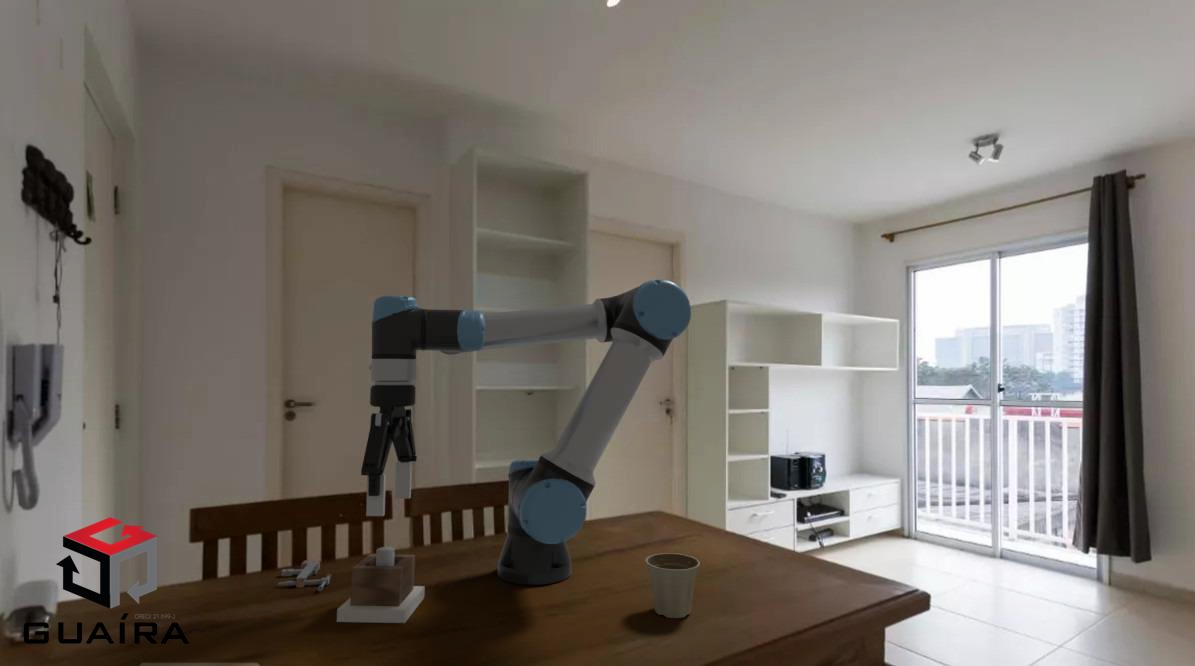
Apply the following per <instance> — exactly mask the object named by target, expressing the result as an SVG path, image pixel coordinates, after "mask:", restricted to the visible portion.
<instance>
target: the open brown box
mask: <svg viewBox="0 0 1195 666" xmlns="http://www.w3.org/2000/svg"><path fill="white" fill-rule="evenodd" d="M415 562H416V554H408V553H406V554H401V553H398V554H397V553H396V554H395V557H394V566H376V553H370V554H368V555H367V556H365V558H363V559H362V560H361V561H359V562H357V564H356V565H354V566H353V567H352V568H351V583H350V584H351V586H350V597H351V601H350V606H400V605H401V603H402V602H403V601H404V600H405V599H406V597H407V596H408V595H409V594H410V593H411V592H412V590H413V589H414V586H415V570H416V569H415V568H416V567H415V565H416V563H415Z"/></svg>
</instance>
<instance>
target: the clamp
mask: <svg viewBox="0 0 1195 666" xmlns="http://www.w3.org/2000/svg"><path fill="white" fill-rule="evenodd" d="M300 564H301V568H300V569H295V568H286V569H285V568H283V569H282V570H281V577H292V576H297V577H296V578H295V580H286V581H281V582H278V586H285V587H287V586H290V587H291V586H296V588H298V589H299V588H300V589H302V588H304V587H305V586H306V585H319V586H317V589H316V590H317V592H322V591H323V590H324V587H325V586H328V585H330V580H331V579H332V575H331V574H329V573H327V574H326V575H325V577H321V578H320V579H307V578H308V577H312V576H313V575H317V574H318V571H319V570H320V568H321V562H320V561H319V560H318V559H317V560H315V559H313V560H312V559H311V560H310V559H309V560H303V561H302V562H301V563H300Z"/></svg>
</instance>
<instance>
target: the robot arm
mask: <svg viewBox="0 0 1195 666" xmlns="http://www.w3.org/2000/svg"><path fill="white" fill-rule="evenodd" d="M372 311H373V312H372V321H371V364H369V366H368V369H369V371H371V372H370V375H371V376H370V381H371V382H372V383H373V382H374V385H371V386H370V392H369V394H370V395H369V404H370V406H372V407H375V408H379V413H376V412H375V413H371V416H370V428H369V432H368V437H367V442H366V446H365V451H364V456H363V461H362V465H361V471H360V474H361V476H367V477H366V478H367V482H366V484H367V485H366V514H365V516H366V517H384V516H385V514H386V513H385V512H386V511H385V510H386V484H387V483H386V481H387V479H386V474H384V472H385V468H386V464H387V462H388V458H389V454H390V451H391V447H392V444H393V448H394V451H395V454H396V459H397V461H398V462H395V476H394V477H395V481H394V485H395V486H394V499H398V500H399V499H411V495H412V468H413V467H412V462H417V458H418V457H417V452H416V445H415V444H416V443H415V439H414V438H415V437H414V429H413V423H412V414H413V413H412V412H413V411H412V409H411V408H407V407H413V406H414V405H415V404H416V386H415V385H413V382H414V383H415V382H416V380H417V355H416V354H417V351H435V352H436V351H437V352H438V351H440V352H441V353H442V354H445V355H450V356H451V355H458V354H460V353H470V352H477V351H478V352H479V351H486V350H487V351H489V350H495V349H496V350H498V349H506V348H517V347H526V346H535V345H536V346H537V345H544V344H546V345H547V344H553V343H554V344H555V343H557V344H558V343H564V342H575V341H584V340H595V339H596V340H597V341H598V342H599V343H601V344H603V343H611V345H609V348H608V350H607V352H606V353H605V355H604V358H603V359H602V360H601V362H600V364H599V366H598V368H597V370H596V371H595V374H594V376H593V377H592V378H591V381H590V383H589V384H588V386H587V388H586V389H585V392H584V394H583V395H582V397H581V399H580V401H579V402H578V404H577V406H576V408H575V410H574V411H573V413H572V415H571V417H570V419H569V420H568V423H567V424H566V426H565V428H564V429H563V431H562V433H561V435H560V437H559V439H558V440H557V442H556V444H555V445H554V448H553V449H552V450H550V451H546V452H544V453H541V455H540V456H539V457H538V459H522V460H521V459H520V460H519V459H518V460H513V461H512V462H510V465H509V472H508V475H507V477H508V479H509V480H508V503H507V506H508V507H507V510H508V511H507V532H506V533H507V534H506V538H505V541H504V544H503V547H502V550H501V553H500V556H499V558H498V562H497V576H498V578H500V579H501V580H503V581H505V582H507V583H512V584H516V585H527V586H539V585H548V584H549V585H550V584H554V583H558V582H562V581H564V580H566V579H568V578H569V577H570V576H571V575H572V567H573V566H572V558H571V555H570V551H569V547H568V544H567V541H568V540H570V539H572V538H574V536H575V535H576V534H578V532H579V531H580V530H581V528H582V527H583V526H584V523H585V521H586V516H587V510H588V509H587V501H588V499H589V497H590V496H591V494H592V492H593V490H594V488H595V486H596V480H595V477H594V471H595V469H596V467H597V465H598V463H599V462H600V460H601V458H602V455H604V452H605V450H606V448H607V447H608V444H609V443H610V441H611V439H612V437H613V436H614V433H615V431H616V430H617V428H618V426H619V423H620V422H621V420H622V418H623V416H624V415H625V413H626V411H627V409H628V407H629V405H630V403H631V401H632V399H634V398H633V397H634V396H635V394H636V392H637V390H638V389H639V386H640V384H641V383H642V381H643V379H644V377H645V375H647V372H648V370H649V368H650V365H652V363H653V362H655V361H659V360H662V359H663V358H664V356H665V354H666V352H667V351H668V348H669V347H670V345H671V343H672V341H673V339H676V338H678V337H679V336H680V335H682V334H683V333H684V332H685V330H686V329H687V327H688V326H689V324H690V321H691V319H692V317H691V316H692V307H691V303H690V300H689V297H688V295H687V294H686V292H685V291H684V290H683V289H682V288H681V286H679V285H678V284H676V283H675V282H673V281H671V280H668V279H653V280H647V281H645V282H643V283H642V284H640V285H639V286H636V287H634V288H632V289H630V290H627V291H624V292H623V293H620V294H618V295H614V296H609V297H604V298H596V299H595V300H594V301H593V303H589V304H588V303H587V304H578V305H577V304H576V305H565V306H556V307H555V306H554V307H545V308H543V307H541V308H532V309H523V310H510V311H509V310H508V311H500V312H489V313H483V312H482V311H480V310H472V309H471V310H469V309H465V308H464V309H426V308H422V307H419V304H418V300H417V299H416V297H412V296H407V295H406V296H404V295H382V296H378V297H377V298H376V299H375V300H374V302H373V310H372ZM405 407H406V408H405Z"/></svg>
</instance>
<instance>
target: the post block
mask: <svg viewBox="0 0 1195 666" xmlns="http://www.w3.org/2000/svg"><path fill="white" fill-rule="evenodd" d="M395 551H396V548H395V547H394V546H382V547H378V548H377V549H376V553H375V554H376V566H394V557H395V553H396V552H395ZM425 588H426V586H425V585H414V589H413V590H412V592H411V593H410V594H409V595H408V596H407V597H406V599H405V600H404V601H403V602H402V603H401V605H400V606H350V601H351V596H350V597H348V599H347V600H345V602H344V603H342V604H341V605H340V606H339V607H338V608H337V610H336V622H337V623H373V624H375V623H382V624H391V623H392V624H405V623H406V622H407V621H408V619H409V618H410V617H411V616H412V615H413V613H414V612H415V610H416V609H417V608H418V607H419V605H420V604H421V603H422V601H423V600H425V590H426V589H425Z"/></svg>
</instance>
